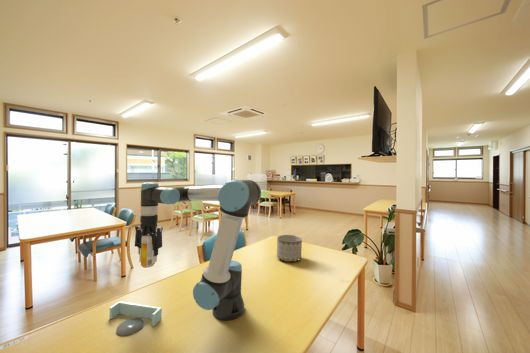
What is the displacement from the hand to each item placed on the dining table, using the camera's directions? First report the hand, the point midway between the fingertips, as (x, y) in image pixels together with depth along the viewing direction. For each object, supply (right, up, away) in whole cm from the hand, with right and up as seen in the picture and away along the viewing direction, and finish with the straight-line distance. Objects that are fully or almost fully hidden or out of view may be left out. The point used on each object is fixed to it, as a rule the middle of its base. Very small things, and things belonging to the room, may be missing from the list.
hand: (148, 261), depth 106 cm
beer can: (0, -2, 0) cm, 2 cm away
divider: (-1, -22, -9) cm, 24 cm away
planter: (+76, -24, +66) cm, 104 cm away
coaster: (+1, -22, -15) cm, 26 cm away
